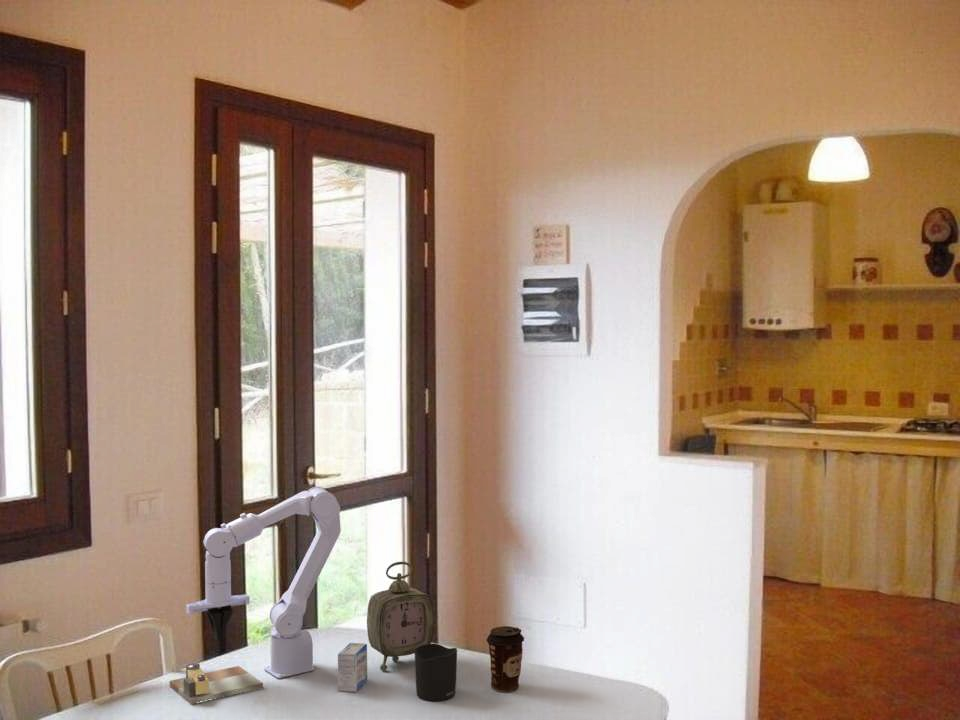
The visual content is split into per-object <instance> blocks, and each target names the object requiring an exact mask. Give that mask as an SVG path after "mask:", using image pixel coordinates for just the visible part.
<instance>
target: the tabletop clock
mask: <svg viewBox="0 0 960 720" xmlns="http://www.w3.org/2000/svg"><path fill="white" fill-rule="evenodd" d="M399 565H405V566H408V567H409V569H410V571H409V572H408V573H405V575H404V574H403V575H402V573H400V572H398V573H397V574H396V576H390V575H389V573H388V572H389V571H390V570H391V569H392V568H394V567H395V566H399ZM412 572H413V567H412V564H410V562H406V561H395V562H393V563H392V564H390V565H389V566H388V567H387V568H386V571H385V575H386V577H387V578H388V579H390V580H392V582H391V583H390V584H389V587H388V589H385V590H381V591H378V592H376V593H374V594H372V595H371V596H370V597H369V601H368V603H367V614H366V627H367V628H366V629H367V630H366V631H367V632H366V633H367V638H368V642H369V645H370V647H371V648H372V649H374V650H376V651H377V652H378V653H380V654H382V655H383V663H382V664H380V666H379V668H380V671H382V672H385V671H387V669H388V666H387V664H386V663H387V661H388V658H389V657H390V658H392V659H391V661H392V662H394V663H397V662H398V661H399V660H400V658H399V657H403V656H410V655H415V649H416V648H417V647H419V646H421V645H425V644H432V642H433V638H434V627H435V625H434V623H435V619H434V618H435V616H434V607H433V602H432V599H431V596H430V595H428V594H426V593H424V592H422V591H421V590H419V589H416V588H414V587H410V585H409V583H408V582H407V581H406V580H404V579H406V578H408V577H409V576H410V575H411V574H412Z"/></svg>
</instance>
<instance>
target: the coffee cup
mask: <svg viewBox="0 0 960 720" xmlns="http://www.w3.org/2000/svg"><path fill="white" fill-rule="evenodd" d="M489 632H490V633H489V635H487V638H486V642H487V644H488V648H489V651H488V652H489V659H490V673H491V674H490V675H491V683H490V686H491V687H490V688H491V689H492V690H494V691H496V692H501V693H506V692H514V691H516V690H518V689H519V688H520V684H519V683H520V682H519V679H520V674H521V671H522V669H521V668H522V660H523V642H524V641H525V637H524V636H523V634H521V633H522V629H520V628H519V627H514V626H506V625H504V626H497V627H494V628H492V629H491V630H490V631H489Z"/></svg>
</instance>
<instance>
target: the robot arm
mask: <svg viewBox="0 0 960 720" xmlns="http://www.w3.org/2000/svg"><path fill="white" fill-rule="evenodd" d="M340 511H341V505H340V504H339V502H338V499H337V498H336V496H335V495H334V494H333V493H331V492H329V491H327V489H325V488H324V487H321V486H313V487H311V488H309V489H308V490H303V491H301V492H298V493H296V494H294V495H292V496H291V497H289V498H287V499H285V500H283V501H282V502H280V503H278V504H276V505H274V506H272V507H271V508H268V509H267V510H265V511H263V512H261V513H258V514H255V513H251V512H250V513H247V514H246V513H245V512H243V513H240V515H239V517H238V518H237V519H234V520H233V521H230V522H228V523H225V522H224V523H222V524H220V527H219V528H218V527H213V528H211V529H210V530H209V531H207V533H205V536H204V539H203V540H202V544H203V546H204V548H205V550H206V551H205V562H204V567H205V568H204V569H205V572H204V574H205V575H204V576H205V577H204V578H205V580H204V581H205V582H204V583H205V586H204V587H205V591H204V592H205V599H203V600H199V601H195V602H192V603H187V604H186V605H185V614H187V615H193V614H195V613H201V612H204V614H205V616H206V618H207V620H208V622H209V624H210V627H211V629H212V633H213V639H214V640H215V641H216V642H220V641H224V638H225V632H226V628H227V626H228V623H229V621H230V619H231V617H232V615H233V612H234V610H233V608H232V607H235V606H236V607H237V606H240V605H245V606H246V605H250V603H251V602H250V600H251V599H250V595H248V594H247V593H246V594H237V595H236V594H235V595H232V565H231V564H232V563H231V551H232V550H233V548H236V547H238V546H241V545H243V544H244V543H247V542H249V541H251V540H253V539H255V538H257V537H259V536H261V535H262V532H263V530H264V528H266V527H268V526H270V525H272V524H273V525H274V524H275V523H277V522H279V521H282V520H284V519H286V518H288V517H291V516H294V515H302V516H310V515H311V516H312V517H313V520H314V522H315V525H316V528H317V532H316V534H315V535H314V537H313V540H312V541H311V544H310V546H309V547H308V549H307V551H306V553H305V555H304V557H303V559H302V562H301V563H300V566H299V568H298V569H297V572H296V574H295V575H294V577H293V579H292V581H291V584H290V586H289V588H288V589H287V590H286V591H285V592H284V593H282V595H281V597H280V599H279V600H278V601H277V602H276V603H275V604H274V605H273V606H272V607H271V608H270V611H269V619H270V622H271V623H272V624H273V628H272V629H271V631H270V665H269V666H265V667H264V669H263V670H265V671H266V672H268V673H269V674H270V675H272V676H274V677H275V678H276V679H282V678H286V677H291V676H295V675H298V674H303V673H309V672H312V671H315V668H314V665H313V664H314V663H313V662H314V656H313V655H314V654H313V653H314V652H313V647H314V645H313V643H314V642H313V638H312V635H311V633H310V632H309V631H308V630H307V629H302V628H303V619H304V615H305V613H306V610H307V602H308V598H309V596H310V595H311V593H312V591H313V589H314V587H315V585H316V583H317V581H318V579H319V577H320V575H321V573H322V571H323V568H324V567H325V565H326V562H327V561H328V559H329V557H330V554H331V553H332V551H333V549H334V547H335V544H336V542H337V540H338V538H339V537H340V535H341V532H342V531H341V529H342V528H341V515H340V513H341V512H340Z"/></svg>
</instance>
